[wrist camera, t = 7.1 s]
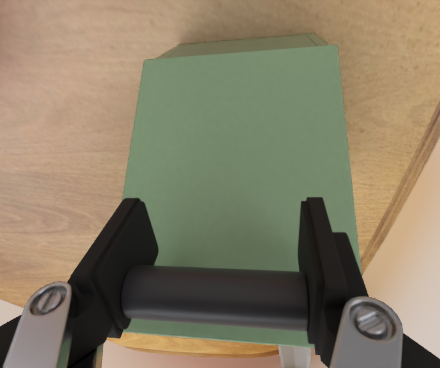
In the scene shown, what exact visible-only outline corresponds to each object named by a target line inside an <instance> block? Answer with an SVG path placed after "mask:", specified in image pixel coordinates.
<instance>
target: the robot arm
mask: <svg viewBox="0 0 440 368" xmlns="http://www.w3.org/2000/svg"><path fill="white" fill-rule="evenodd" d="M158 252H159V248H158V244H157V241H156V237H155V234H154V231H153V228H152V225H151V221H150V218H149V215H148V212H147V208H146V205H145V203H144V202H143V201H141V200H140V198H124V199H123V201H122V202H121V204H120V205H119V207H118V208H117V209H116V211H115V212H114V214H113V215H112V217H111V218H110V220H109V221H108V222H107V224H106V225H105V227H104V228H103V230H102V231H101V233H100V234H99V236H98V237H97V238H96V240H95V241H94V243H93V244H92V246H91V247H90V249H89V250H88V252H87V253H86V254H85V256H84V257H83V259H82V260H81V262H80V263H79V265H78V266H77V267H76V269H75V270H74V272H73V273H72V275H71V277H70V279H69V280H68V282H63V281H58V282H53V283H50V284H47V285H45V286H43V287H42V288H40V289H39V290H37V291H36V292H35V293H34V294H33V295H32V296H31V297H30V298H29V299H28V301H27V303H26V305H25V307H24V310H23V313H22V315H20V316H18V317H16V318H14V319H13V320H11V321H9V322H7V323H5V324H4V325H2V326H0V368H101V366H102V354H103V343H104V342H105V341H106V339H107V337H110V338H120V337H121V335H122V333H123V330H124V329H127V328H128V327H129V325H130V322H131V320H132V319H129V318H127V317H125V316H124V314H123V312H122V309H121V291H122V286H123V282H124V279H125V277H126V275H127V273H128V271H129V270H130V268H131V267H133V266H135V265H154V264H155V261H156V259H157V256H158ZM298 264H299V272H304V273H305V275H306V278H307V284H308V292H309V308H310V319H309V328H308V331H307V338H308V343H309V344H314V346H315V353H316V355H320V357H321V361H322V362H323V363H324V364H325V365H326V366H327V367H328V368H440V359H439V358H438V357H436V356H435V355H433V354H432V353H431V352H429V351H428V350H426V349H425V348H424V347H422V346H421V345H419V344H418V343H417V342H415V341H414V340H412V339H411V338H409V337H408V336H407V335H405V334H404V333H403V329H402V323H401V321H400V319H399V317H398V315H397V314H396V313H395V312H394V311H393V309H392V308H390V307H389V306H388V305H386V304H385V303H384V302H382V301H380V300H377V299H375V298H371V297H369V296H368V293H367V290H366V287H365V284H364V281H363V279H362V275H361V272H360V270H359V267H358V264H357V261H356V258H355V255H354V252H353V249H352V246H351V243H350V240H349V237H348V235H347V233H346V232H332V229H331V225H330V221H329V218H328V214H327V211H326V207H325V204H324V200H323V197H307V199H306V201H301V208H300V223H299V238H298Z"/></svg>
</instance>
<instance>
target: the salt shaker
mask: <svg viewBox="0 0 440 368" xmlns="http://www.w3.org/2000/svg"><path fill="white" fill-rule="evenodd" d="M278 349H279V354H280V359H281V364H282V368H310V357H311V348H305V347H293V346H281V345H278Z"/></svg>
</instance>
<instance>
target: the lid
mask: <svg viewBox="0 0 440 368" xmlns="http://www.w3.org/2000/svg"><path fill="white" fill-rule="evenodd" d="M307 197H323V200H324V204H325V207H326V211H327V214H328V218H329V221H330V225H331V229H332V232H346V233H347V235H348V237H349V240H350V243H351V246H352V249H353V252H354V255H355V258H356V261H357V264H358V267H359V270H360V272H361V264H360V254H359V245H358V235H357V226H356V216H355V207H354V197H353V188H352V178H351V169H350V159H349V150H348V140H347V131H346V121H345V112H344V102H343V92H342V83H341V73H340V64H339V54H338V46H337V45H325V46H313V47H300V48H287V49H274V50H262V51H249V52H236V53H224V54H211V55H198V56H186V57H173V58H160V59H148V60H144V64H143V70H142V77H141V83H140V89H139V96H138V102H137V108H136V115H135V121H134V128H133V134H132V140H131V147H130V153H129V159H128V166H127V172H126V179H125V185H124V191H123V198H122V201H123V199H124V198H140V200H141V201H143V202H144V203H145V205H146V208H147V212H148V215H149V218H150V221H151V225H152V228H153V231H154V234H155V237H156V241H157V244H158V248H159V252H158V256H157V259H156V261H155V264H154V265H135V266H133V267H131V268H130V270H129V271H128V273H127V275H126V277H125V279H124V282H123V286H122V291H121V309H122V312H123V314H124V316H125V317H127V318H129V319H132V320H131V322H130V325H129V327H128V328H127V329H124V330H123V332H124V333H136V334H148V335H160V336H172V337H184V338H196V339H208V340H220V341H232V342H244V343H256V344H268V345H281V346H293V347H305V348H315V346H314V344H309V343H308V338H307V331H308V328H309V319H310V308H309V292H308V284H307V278H306V275H305V273H304V272H299V264H298V238H299V223H300V208H301V201H306V199H307ZM361 275H362V273H361Z"/></svg>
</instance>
